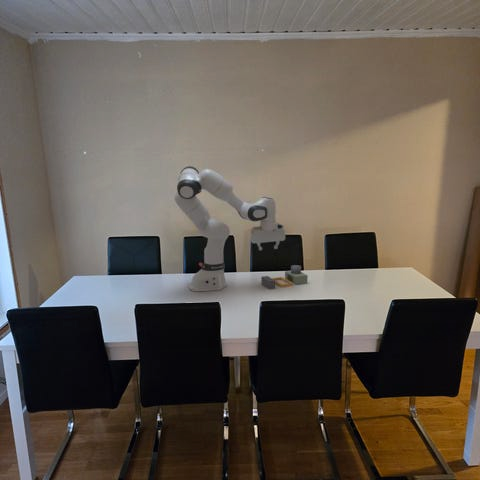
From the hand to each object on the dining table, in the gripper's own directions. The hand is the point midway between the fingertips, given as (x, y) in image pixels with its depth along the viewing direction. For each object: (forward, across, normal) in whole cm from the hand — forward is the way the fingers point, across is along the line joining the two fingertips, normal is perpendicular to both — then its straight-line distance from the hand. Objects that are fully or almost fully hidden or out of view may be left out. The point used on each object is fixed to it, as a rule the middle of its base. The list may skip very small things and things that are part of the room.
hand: (268, 249), depth 220 cm
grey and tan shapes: (+22, +13, +2) cm, 26 cm away
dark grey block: (+22, -1, -1) cm, 22 cm away
